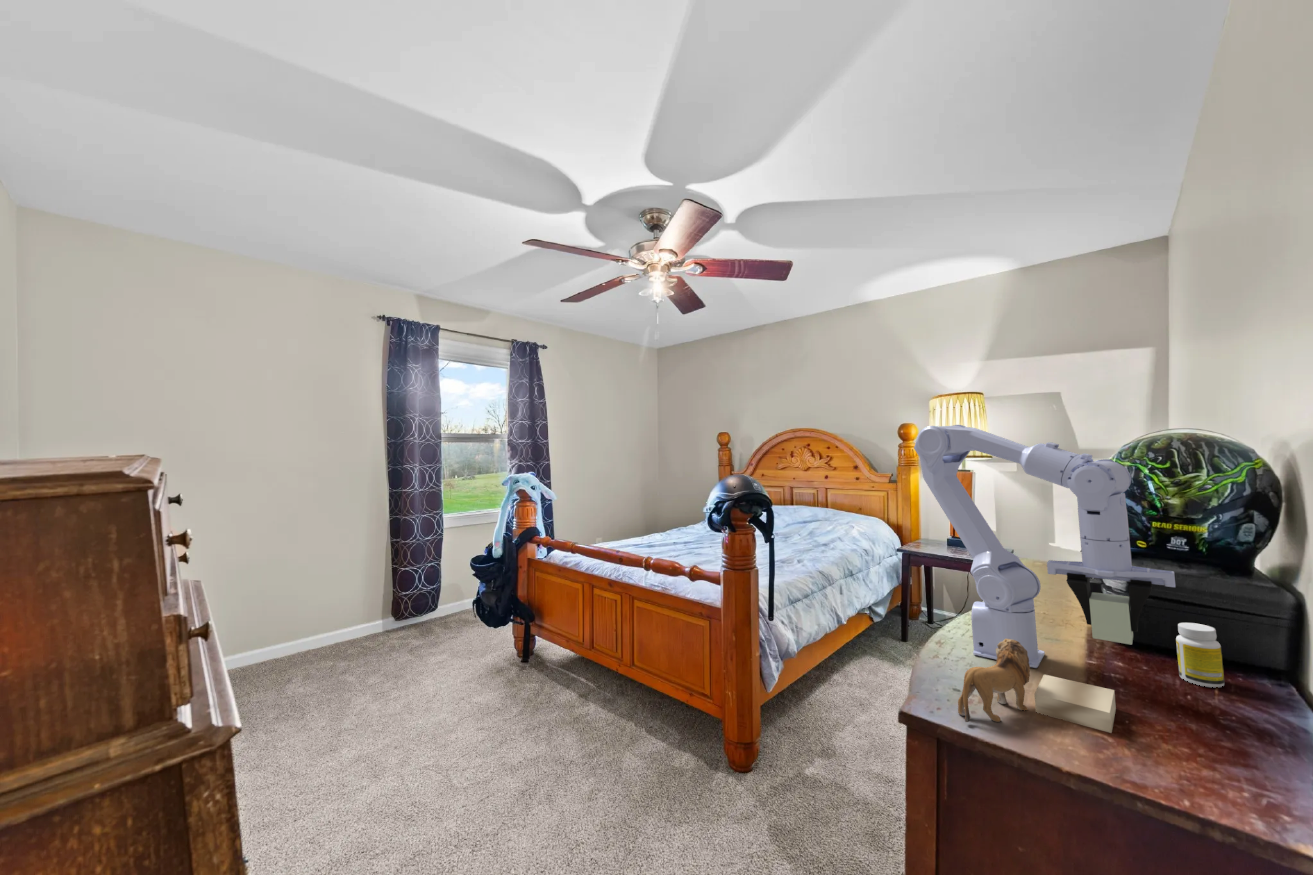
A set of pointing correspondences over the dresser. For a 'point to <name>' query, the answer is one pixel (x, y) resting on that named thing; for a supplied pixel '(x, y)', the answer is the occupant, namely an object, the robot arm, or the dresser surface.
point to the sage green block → (1111, 618)
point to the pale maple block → (1076, 702)
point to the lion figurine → (998, 679)
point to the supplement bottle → (1199, 655)
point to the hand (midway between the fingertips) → (1111, 626)
